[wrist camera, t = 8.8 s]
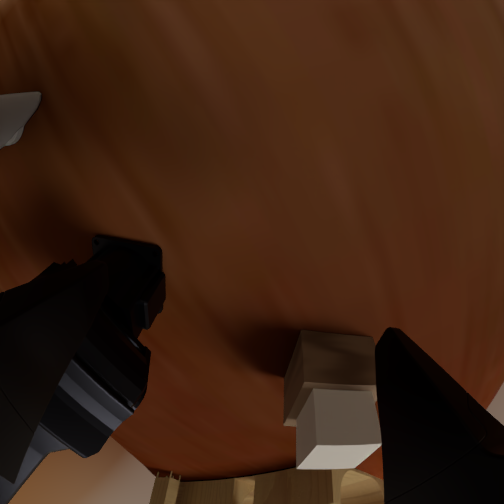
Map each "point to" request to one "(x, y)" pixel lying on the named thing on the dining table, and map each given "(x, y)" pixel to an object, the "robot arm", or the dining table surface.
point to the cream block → (336, 429)
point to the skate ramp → (275, 488)
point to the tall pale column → (16, 115)
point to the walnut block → (327, 368)
